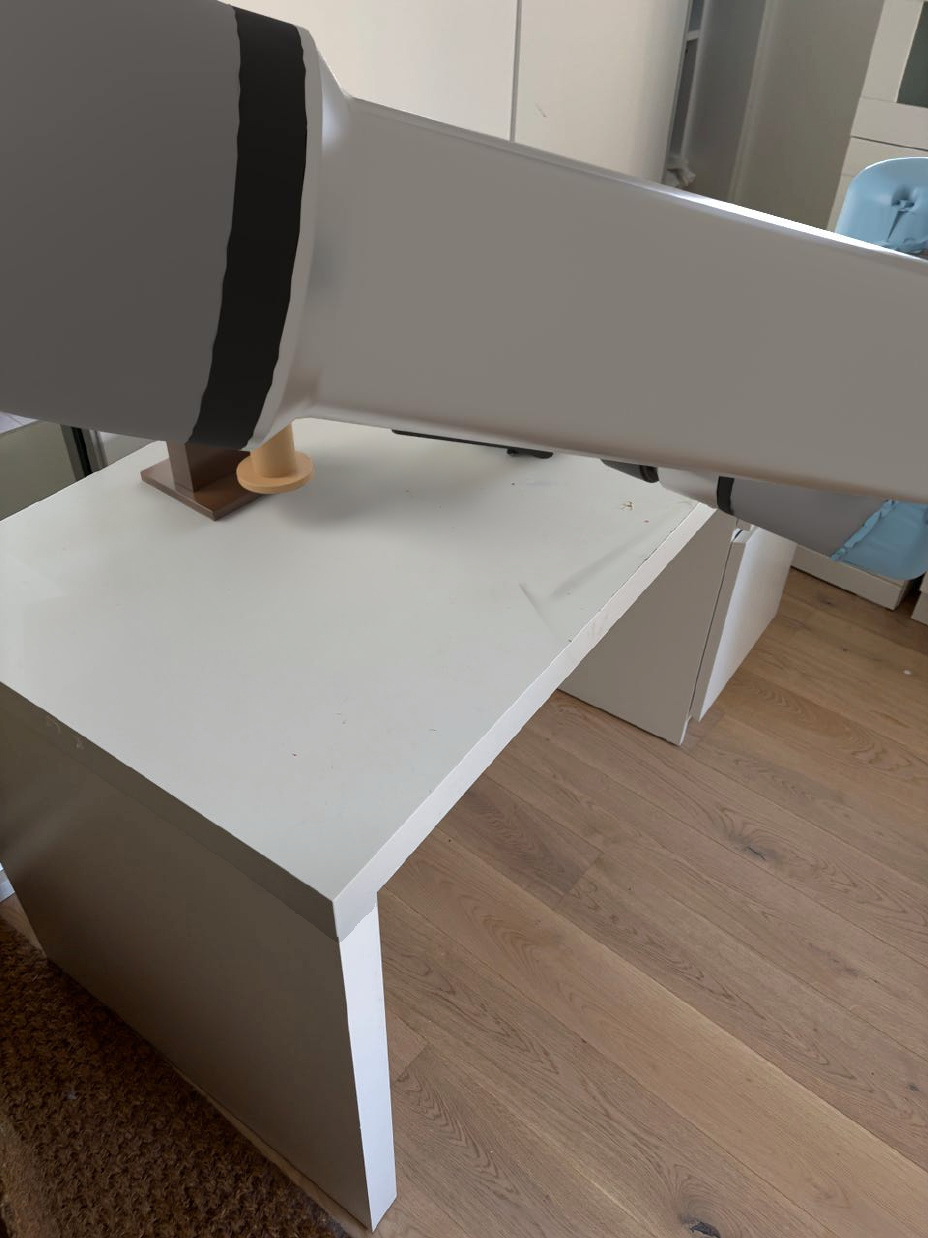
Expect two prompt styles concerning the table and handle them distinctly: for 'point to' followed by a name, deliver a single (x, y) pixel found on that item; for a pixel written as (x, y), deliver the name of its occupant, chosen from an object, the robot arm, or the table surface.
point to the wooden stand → (201, 478)
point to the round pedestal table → (276, 466)
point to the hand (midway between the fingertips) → (409, 325)
